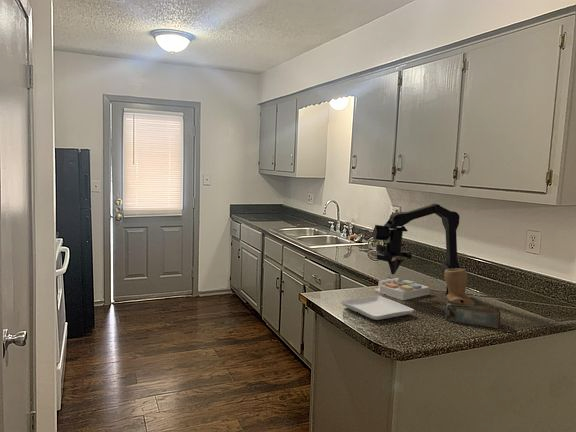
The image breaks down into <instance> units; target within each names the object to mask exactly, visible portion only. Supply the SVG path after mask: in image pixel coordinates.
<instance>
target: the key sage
mask: <svg viewBox="0 0 576 432" xmlns="http://www.w3.org/2000/svg"><path fill="white" fill-rule="evenodd" d="M400 282H404V283H407V285H408V284H413V283H416V282H415V281H412V280H408V279H406V280H405V279H403V280H401V281H400Z"/></svg>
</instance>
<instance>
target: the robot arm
mask: <svg viewBox="0 0 576 432" xmlns="http://www.w3.org/2000/svg"><path fill="white" fill-rule="evenodd" d="M433 214H435V215H436V216H438V217H440V218H441V223H442V226H443V227H444V230H445V231H444V232H445V249H446V250H445V254H446V261H445V263H442V265H441V266H442V273H444V271H445V270H446V269H462V268H461V265H460V263H459V261H458V241H457V230H458V227H459V225H460V215H459V213H458V212H457V211H453V210H449V209H447V208H446V207H443V206H441V205H440V204H438V203H431V204H430V205H425V206H422V207H420V208H416V209H412V210H409V211H399V212H392V213H391V214H390V216H389V219H388V220H387V221H386V222H385V223H384V225H379V224H374V227H373V231H372V239H373V240H374V241H375V240H376V241H387V240H388V241H387V242H386V245H383V244H376V247H375V250H376V252H377V254H376V258H375V259H376V260H379V261H383V262H387V263H388V266H389V270H390V273H391V275H395V274H396V272H397V271H398V269H399V268H400V266H401V265H402V263H403V262H404V259H403V257H404V258H406V259H412V257H413V254H412V253H411V251H407V250H402V249H403V248H402V247H403V246H405V243H403V235H404V234H403V232H407V233H408V229H407V227H405V225H407V224H409V223H410V222H412V221H413V220H416V219H420V218H423V217H426V216H430V215H433ZM447 294H449V291H448V287H447V286H446V290H445V293H444V295H446V296H447Z"/></svg>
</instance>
